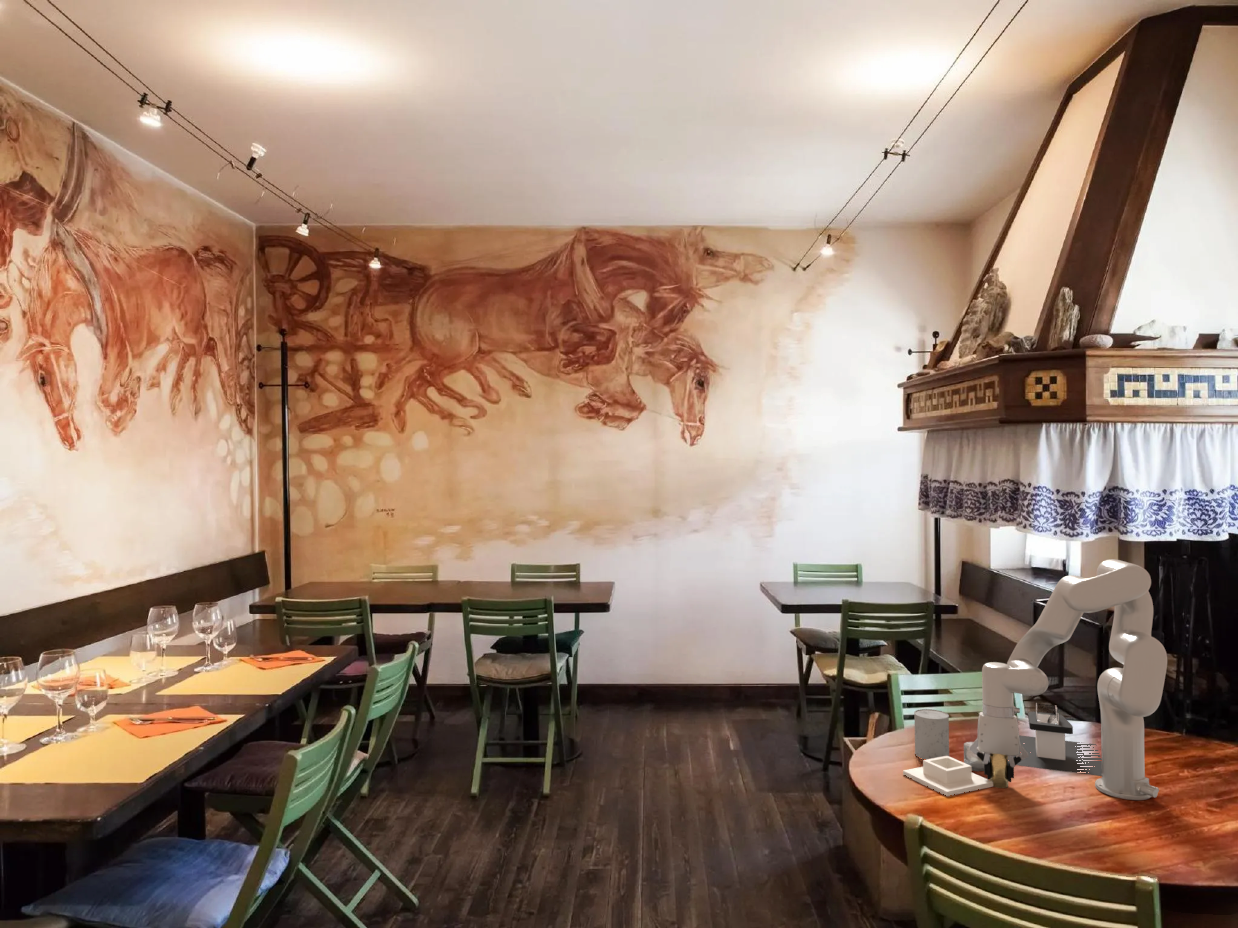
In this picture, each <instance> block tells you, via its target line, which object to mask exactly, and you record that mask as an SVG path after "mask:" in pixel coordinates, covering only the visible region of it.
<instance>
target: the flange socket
mask: <svg viewBox="0 0 1238 928" xmlns="http://www.w3.org/2000/svg"><path fill="white" fill-rule="evenodd" d="M972 771H973V770H972V766H970V765H968V764H966V763H964V761H962V760H961V761H960V760H958V759H956V758H954V757H951V756H950V755H949V756H942V757H937V758H932V759H927V760H923V759H922V766H918V767H915V768H909V769H903V770H902V775H903V776H904V775H906V776H907V777H906V776H905V777H906V778H908V777H909V779H910V778H912V779H911V780H913V781H915V782H917V783H918V784H920V785H923V786H925V787H927V786H928V787H927V788H929V789H931V790H933V789H934V790H933V791H935V792H937V793H939V792H940V794H941V795H943V794H944V795H943V796H945V795H946V796H945V797H951V796H950V795H952V796H956V795H959V794H965V793H970V792H973V791H978V789H979V790H983V789H988V788H991V787H993V788H994V786H993V782H992V781H990V780H989V779H988V778H986V777H983V776H981V775H979V774H976V773H974V772H972ZM969 791H970V792H969ZM964 792H965V793H964ZM954 794H955V795H954Z"/></svg>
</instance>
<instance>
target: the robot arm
mask: <svg viewBox="0 0 1238 928" xmlns="http://www.w3.org/2000/svg"><path fill="white" fill-rule="evenodd" d="M1151 586H1152V579H1151V575H1150V573H1149V572H1148V571H1147V569H1145V568H1144V567H1142V566H1140V565H1138V564H1135V563H1131V562H1127V561H1125V560H1124V561H1123V560H1120V559H1114V558H1113V559H1112V558H1110V559H1105V560H1103V561H1102V562H1100V563H1099V564H1098V566H1097V569H1096V576H1092V577H1087V578H1085V577H1082V576H1079V575H1074V574H1073V575H1066V576H1063V577H1062V578H1061V579H1060V580H1059V581H1058V582H1057V584H1056V585H1055V586H1054V589H1053V590H1052V592H1051V595H1050V596H1049V598H1048V600H1047V602H1046V604H1045V606H1044V608H1043V610H1042V611H1041V613H1040V616H1038V619H1037V621H1036V622H1035V624H1034V625H1032V627H1031V628H1029V630H1028V631H1027V632H1026V633H1024V634H1023V636H1022V637H1021V638H1020V639H1019V640H1018V642H1017V643H1016V645H1015V647H1014V649H1013V651H1011V652H1012V653H1011V654H1010V656H1009V658H1008V660H1007V662H1006V663H1004V662H997V661H993V662H992V661H991V662H985V663H984V664H983V666H982V668H981V678H982V679H981V687H982V688H981V690H982V693H981V695H982V699H981V700H982V701H981V702H982V711H980V712H979V714H978V721H977V737H976V739H975V740H974V741H972V742H973V744H972V745H971V746H970V751H972V752H973V753H974V754H976V755H977V756H978V757H979V758H980V759H981V760H982V761H983V763H984V774H983V775H985V776H986V777H987V778H986V779H988V780H990V779H991V778H990V762H989V757H990V753H991V754H1003V755H1008V759H1009V762H1008V783H1012V779H1015V767H1016V766H1017V765H1016V764H1018V763H1019V762H1020V761H1021V760H1023V759H1025V758H1027V757H1028V756H1029V755H1028V753H1027V751H1026V750H1025V749H1024V747H1023V746H1022V745H1021V743H1020V738H1019V735H1020V729H1019V722H1018V717H1017V715H1015V714H1021V710H1020V709H1021V708H1020V707H1016V706H1015V705H1014V694H1019V695H1025V696H1039V695H1042V694H1044V693H1045V692H1046V691H1047V690H1048V687H1049V684H1050V682H1049V679H1048V676H1047V674H1045V672H1044V671H1043V670H1041V669H1040V668H1039V665H1040V663H1041V662H1042V660H1043V658H1044V656H1046V655H1047V653H1048V652H1049V651H1050V650H1051V649H1052V648H1054V647H1056V646H1058V645H1060V644H1063V643H1066V642H1067V641H1069V640H1070V639H1071V637H1072V635H1073V634H1074V631H1075V630H1076V628H1077V626H1078V624H1079V622H1080V620H1081V618H1082V617H1083V614H1084V613H1086V614H1087V613H1088V614H1091V613H1096V612H1100V611H1103V610H1106V609H1110V608H1113V607H1114V612H1113V621H1112V627H1111V630H1110V631H1111V633H1110V638H1109V643H1108V650H1109V654H1110V655H1111V657H1112V658H1113V659H1114V660H1115V661H1117V662H1118V663H1120V664H1122V665H1123V667H1112V668H1108V669H1105V670H1104V671H1103V672H1102V673H1101V674H1100V675H1099V678H1098V680H1097V685H1096V687H1097V695H1098V701H1099V702H1098V703H1099V709H1100V724H1101V725H1100V727H1101V728H1100V734H1101V735H1100V736H1101V737H1100V738H1101V740H1100V741H1101V742H1100V743H1101V745H1100V746H1101V747H1100V749H1101V751H1100V752H1101V754H1100V755H1101V759H1102V776H1101V777H1100V778H1097V779H1096V780H1095V782H1094V786H1095V788H1096V789H1097V790H1098V791H1099V792H1101V793H1103V794H1105V795H1108V796H1111V797H1114V798H1117V799H1123V800H1131V801H1144V800H1149V799H1151V798H1157V796H1158V793H1159V792H1160V788H1159V787H1156V786H1154V785H1151V784H1150V778H1148V777H1146V773H1145V765H1146V764H1145V721H1144V717H1149V716H1151V715H1153V713H1155V712H1156V711H1157V710H1158V708H1159V706H1160V705H1161V702H1162V696H1163V692H1164V691H1163V690H1164V686H1165V681H1166V680H1165V679H1166V674H1167V669H1168V668H1167V667H1168V654H1167V651H1166V649H1165V647H1164V645H1163V643H1161V642H1160V640H1158V639H1157V638H1155V637H1154V636H1152V628H1153V619H1154V605H1153V604H1154V603H1153V599H1152V596H1151V594H1150V592H1149V590H1150V588H1151ZM977 747H978V748H979V750H980V751H979V750H978V749H977ZM982 752H984V754H983V753H982ZM1020 752H1021V754H1019V753H1020ZM1013 756H1015V757H1014V758H1013Z"/></svg>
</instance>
